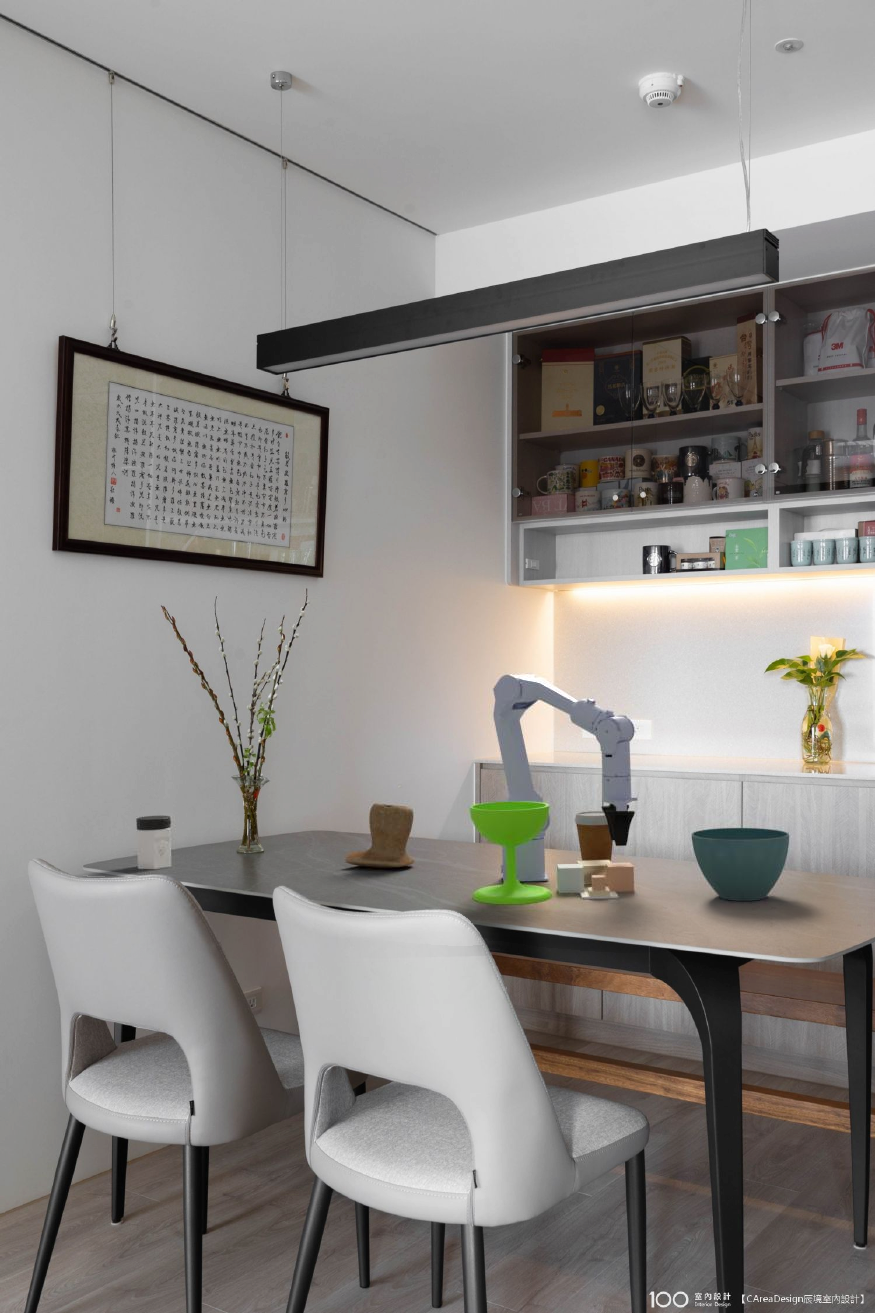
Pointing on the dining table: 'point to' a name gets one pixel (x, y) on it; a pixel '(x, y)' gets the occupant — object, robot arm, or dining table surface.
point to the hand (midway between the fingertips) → (618, 843)
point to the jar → (153, 842)
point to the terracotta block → (620, 877)
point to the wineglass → (510, 846)
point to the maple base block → (593, 869)
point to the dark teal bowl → (741, 860)
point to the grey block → (570, 878)
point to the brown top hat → (386, 838)
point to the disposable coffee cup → (593, 836)
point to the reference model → (598, 889)
